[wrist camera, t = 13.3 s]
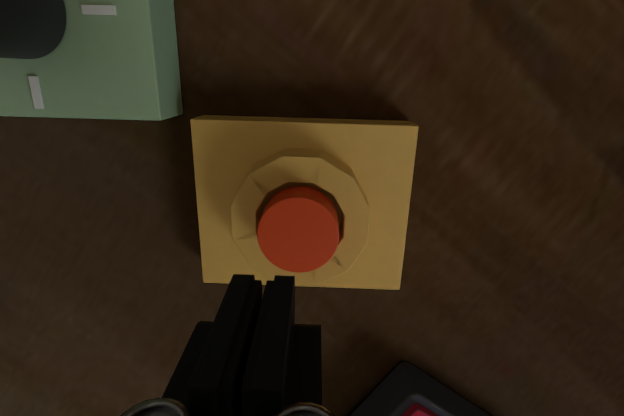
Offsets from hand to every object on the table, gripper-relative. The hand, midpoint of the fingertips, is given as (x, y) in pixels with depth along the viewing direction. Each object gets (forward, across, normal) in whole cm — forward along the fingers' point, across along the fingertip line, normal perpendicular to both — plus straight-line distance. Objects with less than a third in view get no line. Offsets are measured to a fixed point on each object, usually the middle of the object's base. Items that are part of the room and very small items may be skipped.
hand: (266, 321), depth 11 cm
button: (+8, -1, 0) cm, 8 cm away
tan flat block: (+12, -1, 0) cm, 12 cm away
